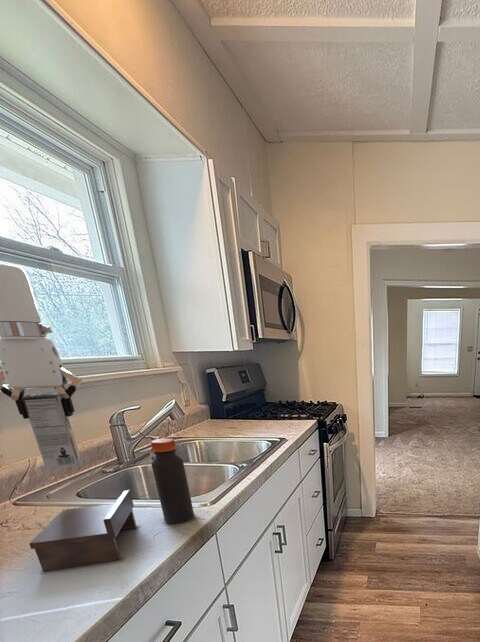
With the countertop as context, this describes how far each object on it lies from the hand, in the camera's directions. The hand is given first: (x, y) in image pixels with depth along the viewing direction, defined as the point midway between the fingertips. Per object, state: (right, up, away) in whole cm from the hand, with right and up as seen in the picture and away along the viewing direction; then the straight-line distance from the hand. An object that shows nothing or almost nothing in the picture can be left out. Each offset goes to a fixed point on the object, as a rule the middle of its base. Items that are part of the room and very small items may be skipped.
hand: (49, 416), depth 92 cm
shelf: (+13, -29, -4) cm, 33 cm away
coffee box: (0, -11, +4) cm, 11 cm away
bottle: (+25, -24, +10) cm, 36 cm away
